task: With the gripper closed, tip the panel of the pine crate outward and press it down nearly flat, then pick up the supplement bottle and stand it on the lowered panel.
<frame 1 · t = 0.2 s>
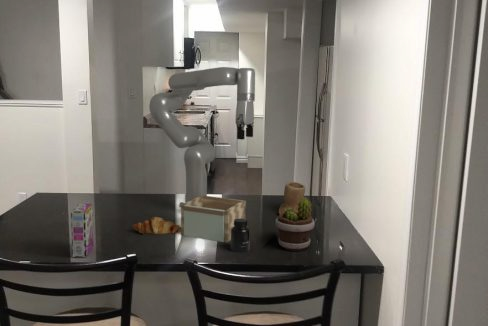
hand: (245, 138, 201), 37 cm above the counter, tool pointing down, fingers open, 9 cm apart
supplement bottle: (239, 252, 169), on the counter
candy bar box: (83, 252, 167), on the counter
panel: (203, 223, 179), point 7 cm above the counter, hinge at 0.0°
crate: (213, 234, 188), on the counter
flowerpot: (294, 247, 176), on the counter
croissant: (158, 234, 188), on the counter
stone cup: (291, 214, 219), on the counter
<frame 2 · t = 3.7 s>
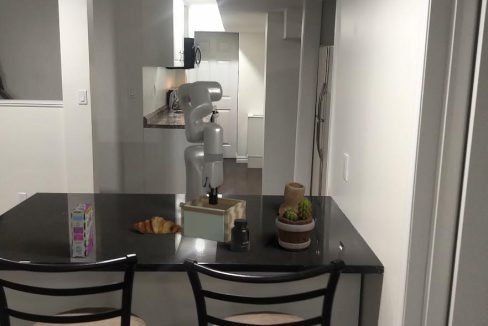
hand: (213, 204, 184), 13 cm above the counter, tool pointing down, fingers closed
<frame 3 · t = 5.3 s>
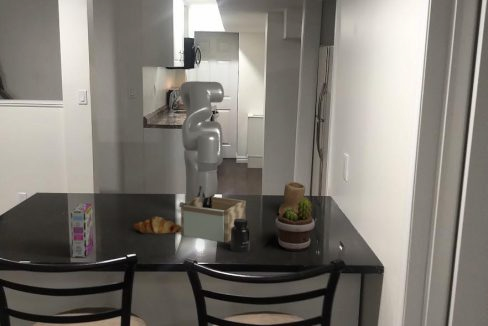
hand: (207, 213, 180), 10 cm above the counter, tool pointing down, fingers closed
panel: (203, 223, 178), point 7 cm above the counter, hinge at 1.8°, touching gripper
everything else where it was.
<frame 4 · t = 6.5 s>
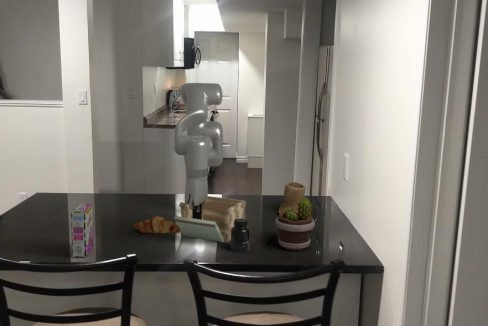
hand: (197, 221, 174), 9 cm above the counter, tool pointing down, fingers closed
panel: (199, 229, 175), point 6 cm above the counter, hinge at 39.3°, touching gripper
everything else where it was.
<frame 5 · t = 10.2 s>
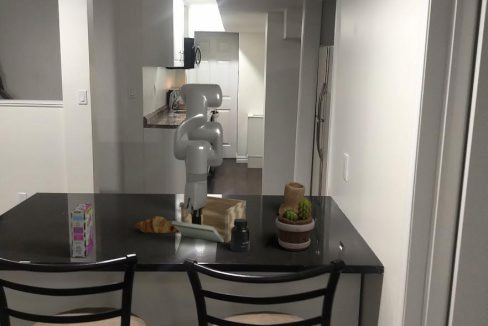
hand: (196, 226, 173), 8 cm above the counter, tool pointing down, fingers closed
panel: (198, 232, 175), point 5 cm above the counter, hinge at 49.7°, touching gripper
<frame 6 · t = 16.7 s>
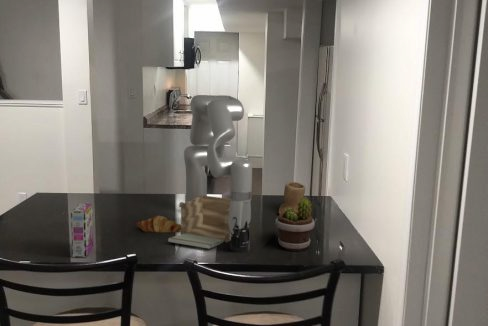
hand: (240, 243, 169), 3 cm above the counter, tool pointing down, fingers closed on supplement bottle, 6 cm apart
supplement bottle: (239, 252, 169), on the counter, touching gripper
panel: (196, 240, 174), point 2 cm above the counter, hinge at 81.2°
when the fingers open (8 cm above the counter, at t = 24.1 s): supplement bottle drops 1 cm, resting on panel.
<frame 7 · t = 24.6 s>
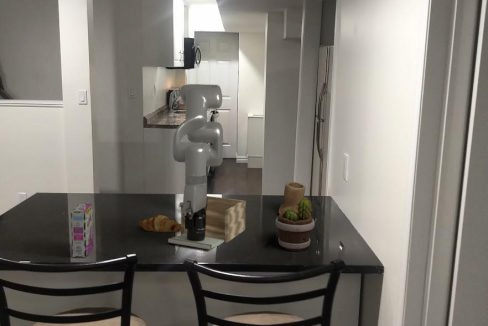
hand: (195, 225, 173), 8 cm above the counter, tool pointing down, fingers open, 9 cm apart
supplement bottle: (195, 239, 174), point 3 cm above the counter, touching gripper, panel
panel: (196, 241, 174), point 2 cm above the counter, hinge at 82.5°, touching supplement bottle
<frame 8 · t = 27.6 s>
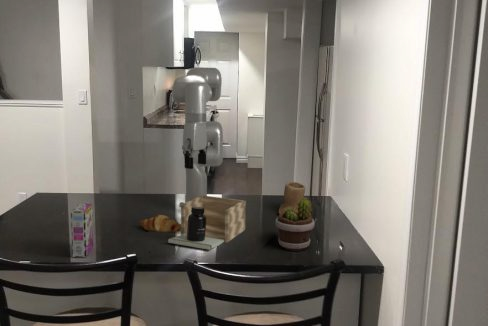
hand: (195, 166, 169), 30 cm above the counter, tool pointing down, fingers open, 9 cm apart
supplement bottle: (195, 240, 174), point 2 cm above the counter, touching panel
panel: (196, 241, 174), point 2 cm above the counter, hinge at 83.0°, touching supplement bottle
at the end: panel at +83° (first picture: +0°); supplement bottle inside the target area (0.7 cm from its centre), point 2.4 cm above the counter; supplement bottle tilted 7° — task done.
